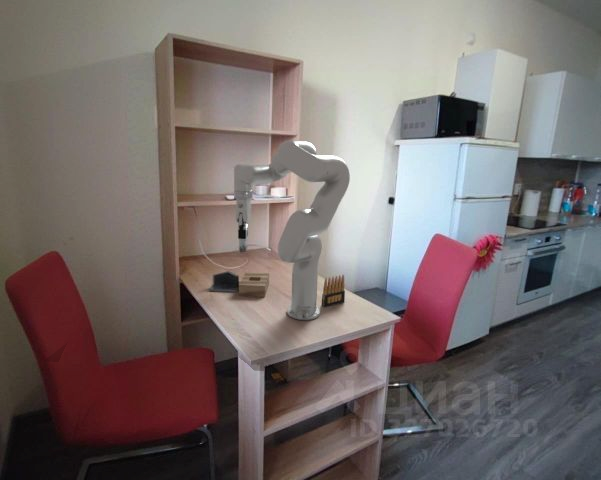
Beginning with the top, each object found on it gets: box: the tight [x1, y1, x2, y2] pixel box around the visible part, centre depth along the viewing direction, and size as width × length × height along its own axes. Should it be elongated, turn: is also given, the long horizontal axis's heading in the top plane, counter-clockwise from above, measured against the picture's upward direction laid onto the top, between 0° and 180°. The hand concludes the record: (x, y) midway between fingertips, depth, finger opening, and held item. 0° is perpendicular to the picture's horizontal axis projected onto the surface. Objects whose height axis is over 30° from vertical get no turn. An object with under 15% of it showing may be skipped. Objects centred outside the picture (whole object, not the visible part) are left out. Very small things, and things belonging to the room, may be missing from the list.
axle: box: [238, 223, 248, 253], centre depth 152 cm, size 4×4×12 cm
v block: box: [209, 270, 241, 293], centre depth 158 cm, size 12×10×6 cm
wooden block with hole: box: [238, 272, 270, 298], centre depth 157 cm, size 16×11×5 cm
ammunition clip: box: [320, 274, 346, 308], centre depth 144 cm, size 11×2×12 cm, turn 123°
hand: (243, 237), depth 152 cm, fingers closed on axle, 3 cm apart
